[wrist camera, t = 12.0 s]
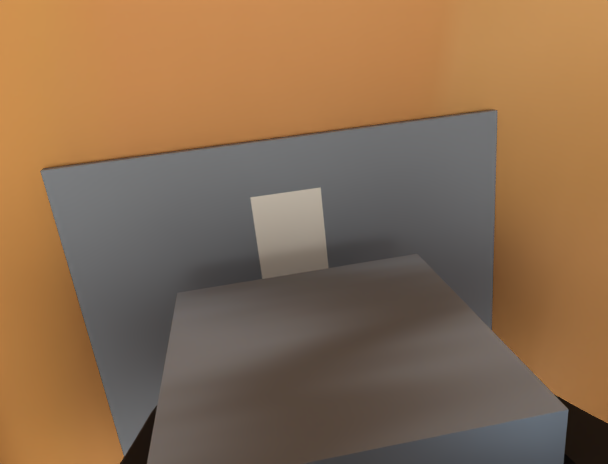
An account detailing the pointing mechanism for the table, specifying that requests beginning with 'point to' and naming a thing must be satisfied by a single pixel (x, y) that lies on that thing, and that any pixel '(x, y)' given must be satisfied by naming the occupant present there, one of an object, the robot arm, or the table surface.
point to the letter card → (265, 227)
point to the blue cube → (347, 376)
